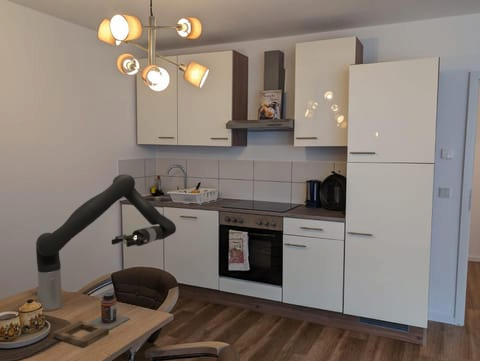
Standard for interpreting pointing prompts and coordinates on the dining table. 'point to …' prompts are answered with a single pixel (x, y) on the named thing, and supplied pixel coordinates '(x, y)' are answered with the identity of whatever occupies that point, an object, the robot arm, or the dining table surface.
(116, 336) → the dining table surface
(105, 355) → the dining table surface
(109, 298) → the supplement bottle
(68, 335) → the walnut collar
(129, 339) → the dining table surface
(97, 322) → the charcoal mat
